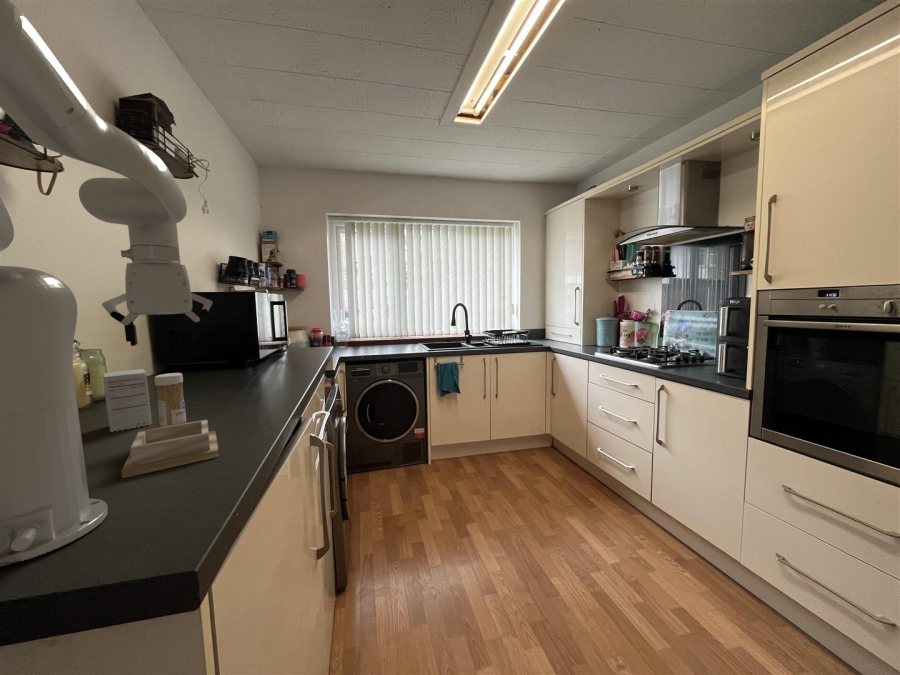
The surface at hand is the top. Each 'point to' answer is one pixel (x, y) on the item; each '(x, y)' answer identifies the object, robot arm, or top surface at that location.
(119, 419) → the supplement box
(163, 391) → the sprinkles bottle
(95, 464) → the top surface
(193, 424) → the socket board
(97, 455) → the top surface
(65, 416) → the robot arm
